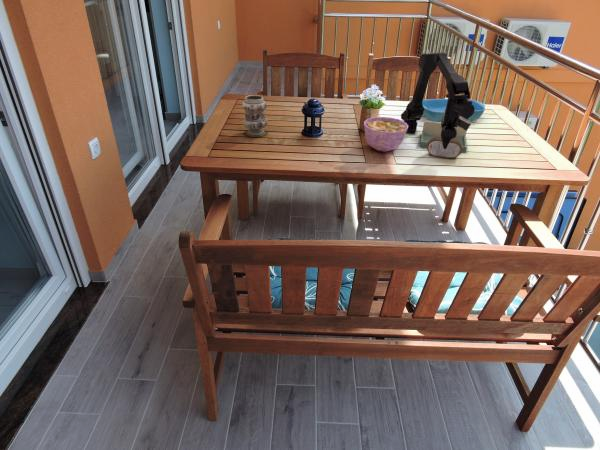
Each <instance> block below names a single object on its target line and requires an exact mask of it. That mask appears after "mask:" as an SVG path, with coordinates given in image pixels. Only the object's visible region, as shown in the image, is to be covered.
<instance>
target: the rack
mask: <svg viewBox="0 0 600 450" xmlns="http://www.w3.org/2000/svg"><path fill="white" fill-rule="evenodd" d="M454 128H456V130H457V135H456V137H455V138H453V139H454V140H457V141H459V142H460V143H461V145H462V151H461V153H466V152H467V150H468V149H467V148H468V146H467V136H466V135H467V132H468V130H464V129H463V128H461V127H459V126H457V127H454ZM441 130H442V128H441V122H434V121H431V120H424V121H423V125H422V130H421V135H420V136H421V137H420V143H419V147H420V148H424V149H427V143H428V141H429V140H430V139H432V138H434V137H440V138H441Z"/></svg>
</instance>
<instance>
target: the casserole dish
mask: <svg viewBox="0 0 600 450" xmlns="http://www.w3.org/2000/svg"><path fill="white" fill-rule="evenodd" d="M467 100H470V101H472V105H473V106H474V109H475V111H474V113H473V115H472V116H471V117H469V118H468V120H470V121H471V122H472V121H473V122H474V121H477V120H479V119H480V118H481V117H482V116H483V114H484V112H485V111H486V104H485V103H483V102H481V101H478V100H475V99H472V98H470V99H467ZM447 101H448V98H427V99H426V98H425V99H423V102H422V104H423V107H424V108H425V110H424V112H423V116H424V117H425V118H427V119H428V121H432V122H441V121H442V117H444V115H445V110H446V105H447Z"/></svg>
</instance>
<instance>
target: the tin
mask: <svg viewBox="0 0 600 450" xmlns="http://www.w3.org/2000/svg"><path fill="white" fill-rule="evenodd" d="M426 151H427V153H428V154H429V155H431V156H433V157H438V158H446V159H456V158H458V157H459V156H460V155H461V154H462V152H461V151H462V145H461V143H460V142H459V141H457V140H454V139H451V140H450V142H449V144H448V146H447V148H446V149H443V144H442V139H441V138H440V137H434V138H432V139H430V140H429V141H428V143H427V148H426Z"/></svg>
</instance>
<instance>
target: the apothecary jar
mask: <svg viewBox="0 0 600 450" xmlns="http://www.w3.org/2000/svg"><path fill="white" fill-rule="evenodd" d="M267 106H268V105H267V102H266V101H265V100H264V97H263V96H262V95H258V94H250V95H246V96H245V98H244V101H243V102H242V104H241V107H242V109H243V110H244V119H243V120H242V125H243V126H244V127H245V128H246V129H248V130H246V132H245V135H246V136H248V137H252V138H259V137H263V136H265V135H266V134H267V132H266V131H265V130H264V128H265V127H266V126H268V123H269V122H268V119H267V118H266V115H265V113H266V112H265V110H266V109H267Z"/></svg>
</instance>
